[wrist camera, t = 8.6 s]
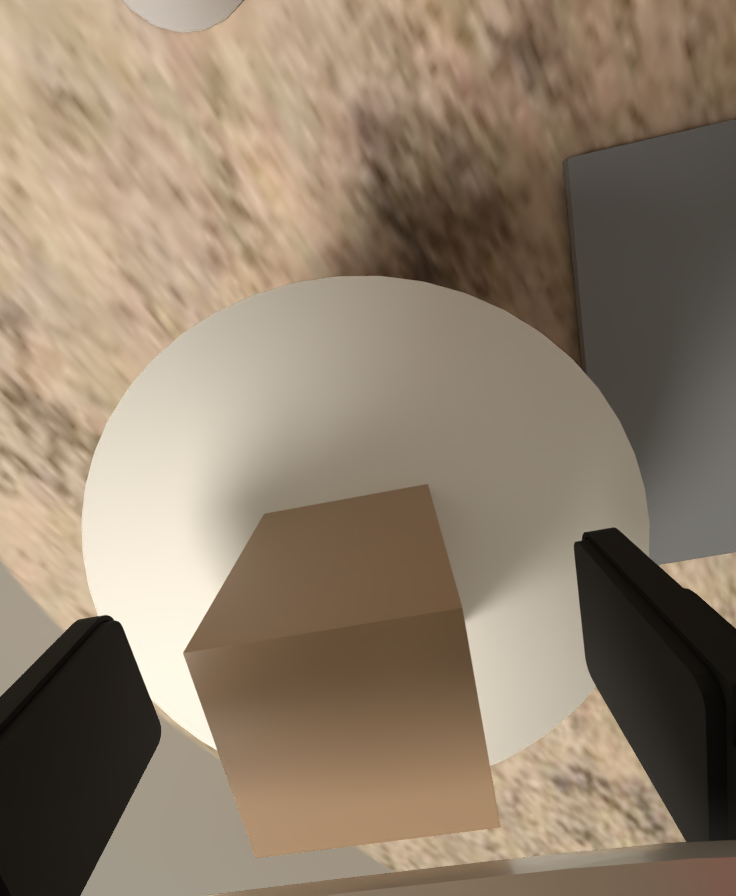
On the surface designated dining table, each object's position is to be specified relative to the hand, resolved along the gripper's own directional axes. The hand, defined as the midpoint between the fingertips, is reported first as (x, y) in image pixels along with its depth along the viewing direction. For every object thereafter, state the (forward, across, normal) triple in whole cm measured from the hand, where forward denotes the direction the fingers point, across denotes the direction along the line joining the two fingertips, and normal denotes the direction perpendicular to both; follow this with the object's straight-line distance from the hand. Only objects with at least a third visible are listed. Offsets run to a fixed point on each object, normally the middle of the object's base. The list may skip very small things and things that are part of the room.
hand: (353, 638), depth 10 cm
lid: (+3, 0, 0) cm, 3 cm away
